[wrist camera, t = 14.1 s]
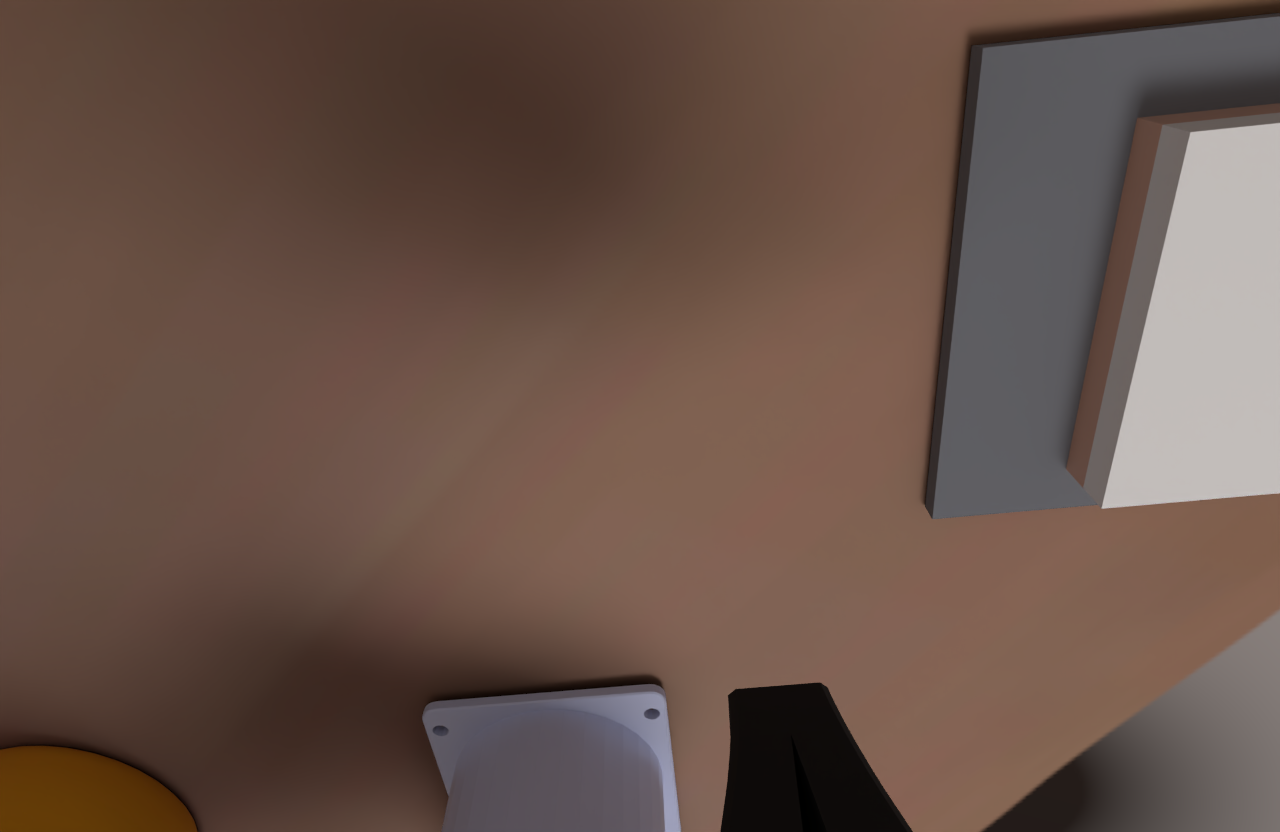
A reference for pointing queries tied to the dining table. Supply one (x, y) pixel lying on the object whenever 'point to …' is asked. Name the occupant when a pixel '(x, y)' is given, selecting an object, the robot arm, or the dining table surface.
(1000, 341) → the mat
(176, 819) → the beer bottle
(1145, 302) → the tile
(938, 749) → the dining table surface
